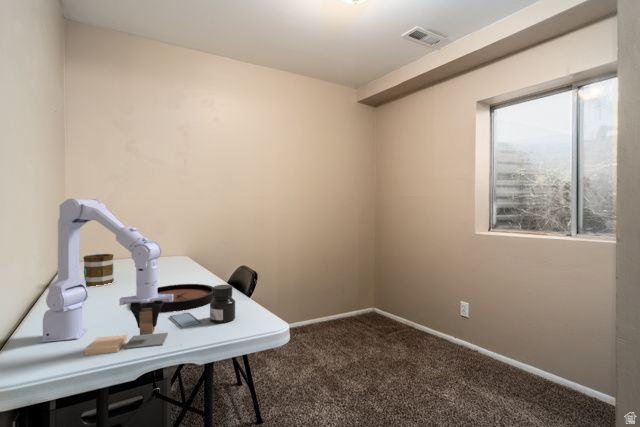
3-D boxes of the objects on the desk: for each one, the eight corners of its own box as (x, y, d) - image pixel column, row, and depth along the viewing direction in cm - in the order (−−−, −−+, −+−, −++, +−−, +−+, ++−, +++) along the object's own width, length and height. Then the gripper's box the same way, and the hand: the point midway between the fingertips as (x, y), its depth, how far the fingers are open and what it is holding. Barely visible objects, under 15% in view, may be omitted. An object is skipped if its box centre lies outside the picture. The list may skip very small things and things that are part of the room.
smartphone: (181, 328, 110) (168, 316, 122) (181, 330, 111) (168, 318, 122) (203, 323, 115) (188, 312, 127) (203, 325, 115) (188, 314, 127)
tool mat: (124, 349, 95) (124, 347, 95) (133, 337, 104) (133, 335, 104) (162, 345, 98) (162, 343, 98) (167, 333, 106) (167, 332, 106)
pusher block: (142, 330, 102) (142, 308, 101) (154, 329, 103) (154, 307, 102) (139, 335, 98) (139, 311, 98) (152, 333, 99) (152, 310, 99)
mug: (117, 283, 174) (117, 255, 174) (86, 288, 165) (86, 258, 164) (107, 278, 188) (107, 252, 188) (78, 282, 178) (78, 254, 178)
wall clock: (145, 286, 154) (215, 281, 164) (145, 295, 154) (215, 290, 164) (128, 305, 124) (215, 298, 134) (128, 316, 124) (215, 308, 134)
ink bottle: (206, 318, 121) (206, 285, 121) (229, 313, 127) (229, 282, 127) (215, 325, 114) (215, 291, 113) (239, 320, 119) (239, 287, 119)
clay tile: (97, 343, 100) (84, 357, 91) (97, 337, 100) (84, 349, 91) (126, 341, 102) (117, 353, 93) (126, 334, 102) (117, 346, 93)
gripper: (115, 286, 95) (116, 333, 95) (170, 283, 98) (171, 328, 99) (123, 281, 101) (123, 325, 102) (174, 278, 105) (174, 320, 106)
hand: (147, 326), depth 101 cm, fingers closed on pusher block, 3 cm apart
